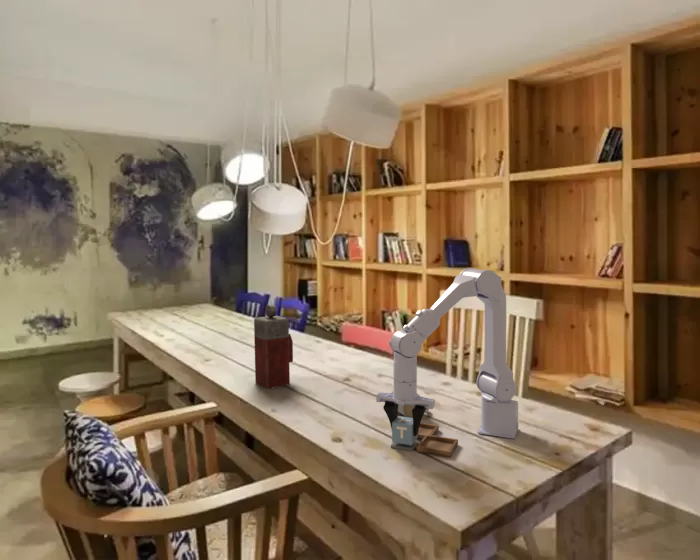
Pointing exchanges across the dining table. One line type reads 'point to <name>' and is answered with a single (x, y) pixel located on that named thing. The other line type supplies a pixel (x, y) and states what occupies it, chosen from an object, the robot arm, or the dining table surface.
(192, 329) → the dining table surface
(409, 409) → the ceramic mug
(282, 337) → the dark red bottle
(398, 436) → the letter cube
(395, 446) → the slate tile
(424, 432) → the tray
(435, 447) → the tray
